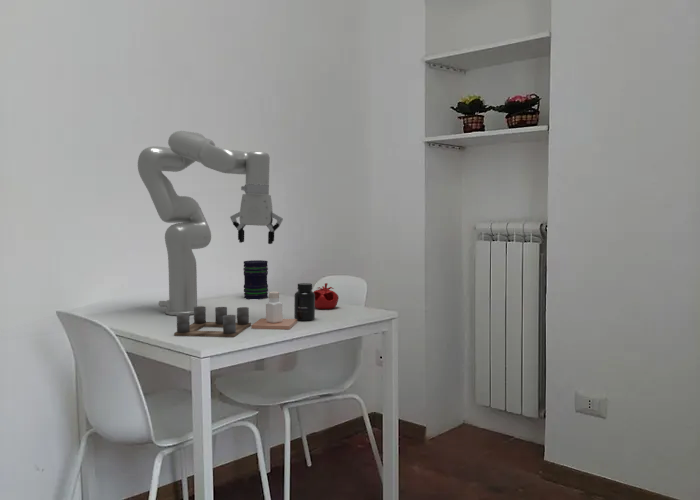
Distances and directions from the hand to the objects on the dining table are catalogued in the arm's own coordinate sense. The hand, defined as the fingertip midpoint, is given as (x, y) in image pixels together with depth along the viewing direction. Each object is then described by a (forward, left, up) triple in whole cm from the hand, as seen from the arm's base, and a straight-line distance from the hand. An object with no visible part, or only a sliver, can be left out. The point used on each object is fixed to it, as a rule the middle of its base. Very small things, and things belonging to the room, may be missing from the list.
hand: (255, 242), depth 210 cm
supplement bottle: (+15, +4, -26) cm, 30 cm away
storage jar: (-14, +50, -26) cm, 58 cm away
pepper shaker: (+8, -7, -25) cm, 27 cm away
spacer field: (-9, -17, -26) cm, 32 cm away
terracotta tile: (+8, -7, -26) cm, 28 cm away
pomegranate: (+18, +28, -26) cm, 42 cm away
